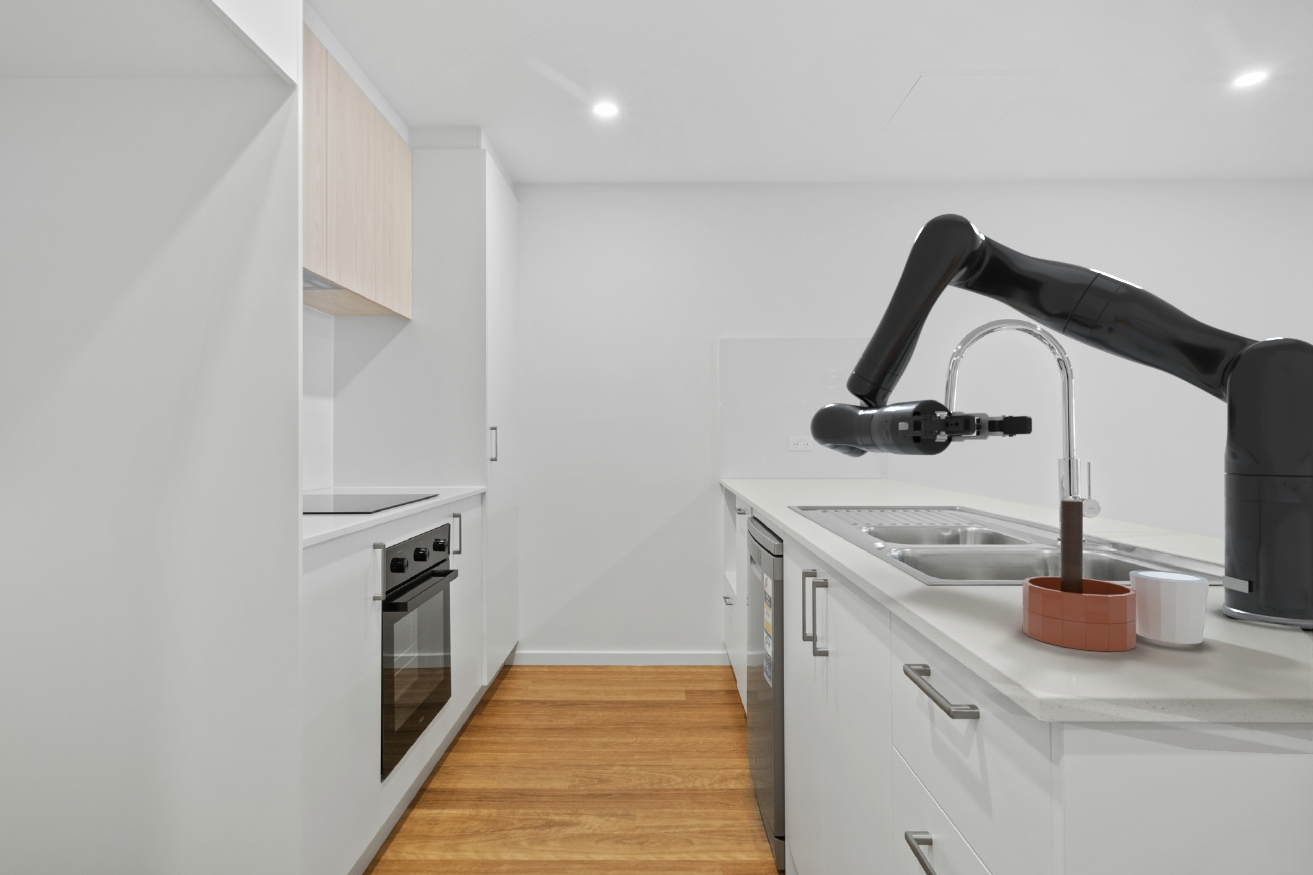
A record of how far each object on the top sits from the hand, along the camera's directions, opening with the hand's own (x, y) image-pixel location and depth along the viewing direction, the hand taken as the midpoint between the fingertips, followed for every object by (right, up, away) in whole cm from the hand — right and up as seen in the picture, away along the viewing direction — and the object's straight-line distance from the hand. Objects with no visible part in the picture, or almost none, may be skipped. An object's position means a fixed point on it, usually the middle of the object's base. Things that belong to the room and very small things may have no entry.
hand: (1002, 424), depth 82 cm
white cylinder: (+13, -23, -9) cm, 28 cm away
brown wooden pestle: (+3, -22, -9) cm, 24 cm away
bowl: (+3, -23, -10) cm, 25 cm away
